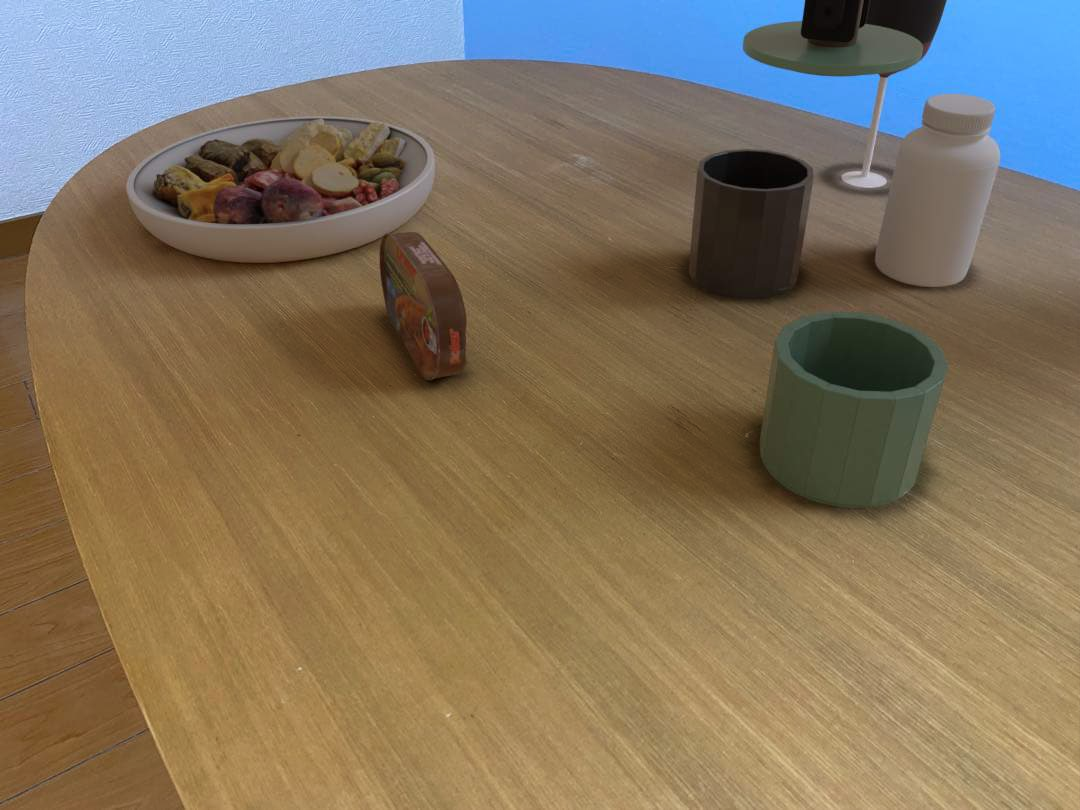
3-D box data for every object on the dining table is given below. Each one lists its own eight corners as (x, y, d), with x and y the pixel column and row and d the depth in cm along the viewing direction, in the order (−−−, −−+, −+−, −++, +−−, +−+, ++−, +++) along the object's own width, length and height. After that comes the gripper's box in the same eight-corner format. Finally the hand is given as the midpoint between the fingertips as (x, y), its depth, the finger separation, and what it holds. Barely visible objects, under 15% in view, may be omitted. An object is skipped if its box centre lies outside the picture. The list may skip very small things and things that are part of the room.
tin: (381, 310, 80) (369, 217, 75) (417, 302, 81) (408, 210, 76) (436, 402, 68) (427, 300, 63) (477, 392, 69) (471, 291, 64)
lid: (766, 32, 66) (778, -65, 63) (930, 48, 62) (952, -55, 59) (719, 73, 58) (729, -36, 55) (904, 95, 54) (928, -21, 51)
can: (781, 403, 68) (799, 299, 63) (927, 440, 64) (957, 332, 59) (740, 483, 60) (756, 372, 55) (901, 530, 56) (933, 416, 52)
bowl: (142, 178, 105) (123, 107, 100) (406, 145, 112) (399, 78, 108) (135, 300, 81) (110, 216, 77) (469, 249, 89) (464, 169, 84)
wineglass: (893, 202, 97) (938, -5, 85) (811, 185, 100) (844, -15, 89) (914, 177, 102) (959, -21, 90) (836, 162, 106) (869, -30, 94)
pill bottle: (902, 295, 80) (943, 122, 72) (857, 255, 87) (890, 91, 78) (985, 285, 82) (1036, 114, 73) (935, 246, 88) (976, 84, 79)
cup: (744, 244, 89) (757, 141, 83) (818, 283, 82) (838, 174, 77) (667, 270, 85) (675, 163, 79) (739, 313, 78) (753, 200, 73)
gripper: (949, -354, 41) (870, 73, 52) (984, -334, 53) (914, 9, 64) (779, -345, 44) (738, 58, 55) (849, -328, 56) (804, 0, 67)
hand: (833, 29), depth 59 cm, fingers closed on lid, 3 cm apart
